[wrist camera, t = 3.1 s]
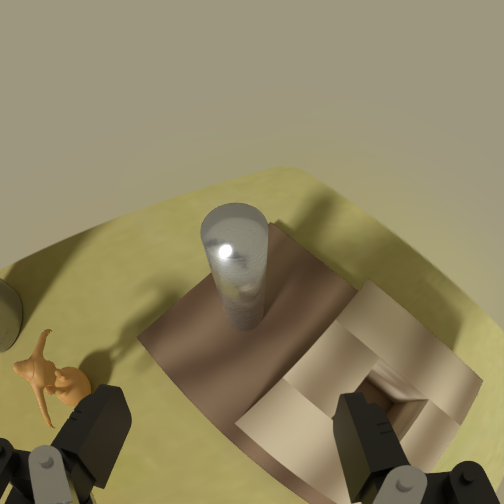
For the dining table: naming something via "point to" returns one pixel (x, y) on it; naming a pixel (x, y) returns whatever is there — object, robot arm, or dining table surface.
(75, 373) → the figurine
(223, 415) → the walnut board
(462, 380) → the beech bead block
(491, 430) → the dining table surface
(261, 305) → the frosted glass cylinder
